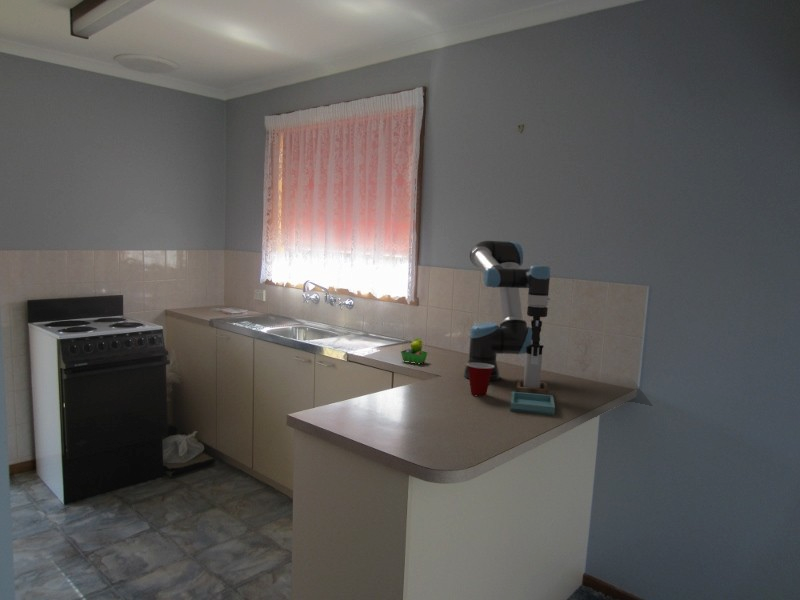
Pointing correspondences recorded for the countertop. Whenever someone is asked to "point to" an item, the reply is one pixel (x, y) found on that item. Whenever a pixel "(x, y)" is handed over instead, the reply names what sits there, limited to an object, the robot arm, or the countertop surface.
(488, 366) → the plastic cup
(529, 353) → the travel mug
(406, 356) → the fruit basket
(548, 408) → the tray
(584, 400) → the countertop surface
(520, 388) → the open wooden box
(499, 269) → the robot arm
